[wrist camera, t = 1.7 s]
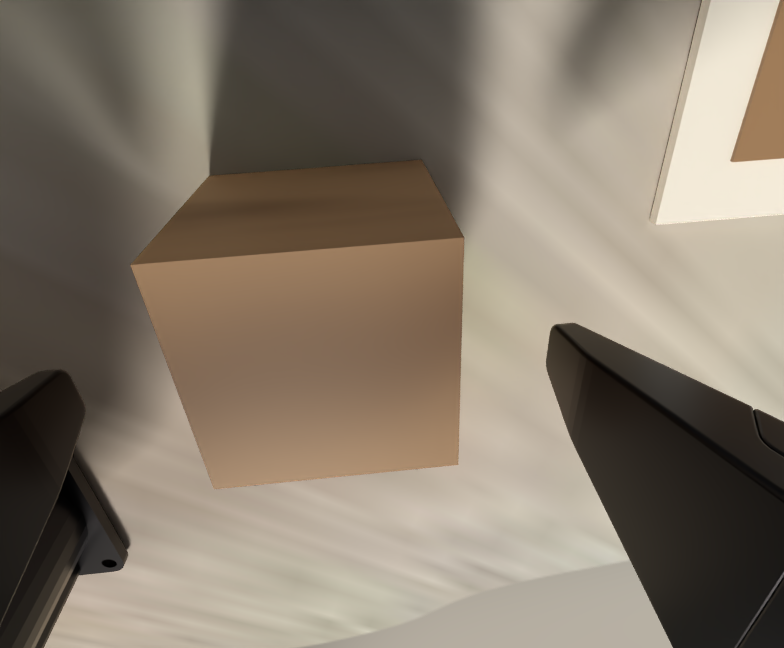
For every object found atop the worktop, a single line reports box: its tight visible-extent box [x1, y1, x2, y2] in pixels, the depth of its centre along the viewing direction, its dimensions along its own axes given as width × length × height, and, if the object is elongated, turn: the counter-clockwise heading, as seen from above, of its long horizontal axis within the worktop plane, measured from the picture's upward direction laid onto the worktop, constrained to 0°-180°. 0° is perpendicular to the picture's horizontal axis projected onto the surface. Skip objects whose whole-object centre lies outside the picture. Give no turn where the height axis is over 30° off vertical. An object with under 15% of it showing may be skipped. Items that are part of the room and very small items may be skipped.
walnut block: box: [131, 160, 464, 489], centre depth 11 cm, size 5×5×5 cm
